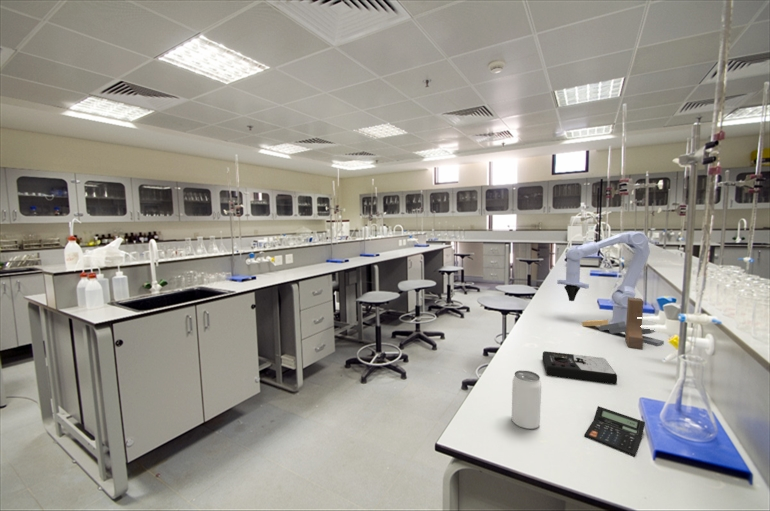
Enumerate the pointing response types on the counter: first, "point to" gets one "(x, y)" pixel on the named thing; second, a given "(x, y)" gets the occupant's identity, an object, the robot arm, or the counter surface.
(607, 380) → the multimeter
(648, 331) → the slate domino
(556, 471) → the counter surface
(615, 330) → the slate domino
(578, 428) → the counter surface
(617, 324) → the slate domino
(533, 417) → the can
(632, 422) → the calculator
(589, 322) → the ochre domino
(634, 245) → the robot arm
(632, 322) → the wooden block
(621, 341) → the counter surface
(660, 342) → the slate domino
